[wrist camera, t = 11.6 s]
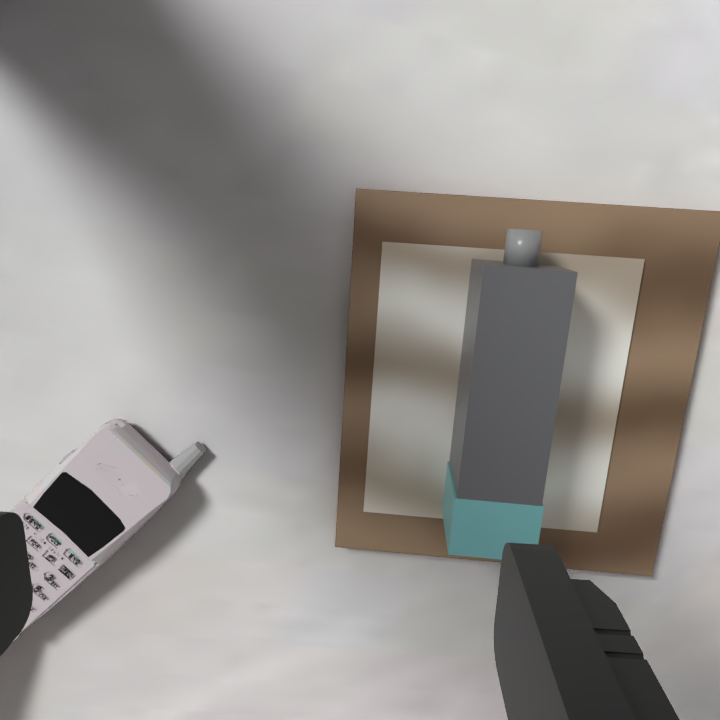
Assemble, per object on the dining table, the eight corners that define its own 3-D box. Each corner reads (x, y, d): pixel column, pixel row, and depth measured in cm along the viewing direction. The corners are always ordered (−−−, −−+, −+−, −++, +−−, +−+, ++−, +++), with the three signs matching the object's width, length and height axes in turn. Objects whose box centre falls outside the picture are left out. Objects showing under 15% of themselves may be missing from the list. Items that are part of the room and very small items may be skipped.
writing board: (357, 189, 30) (355, 188, 29) (715, 211, 30) (728, 211, 28) (336, 537, 35) (334, 548, 34) (644, 566, 34) (653, 578, 33)
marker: (473, 226, 29) (485, 227, 25) (558, 232, 29) (586, 234, 25) (442, 511, 33) (448, 554, 29) (517, 518, 33) (535, 563, 29)
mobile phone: (-188, 695, 33) (91, 417, 28) (-103, 624, 39) (143, 382, 34) (-104, 761, 34) (183, 503, 29) (-32, 682, 40) (218, 454, 35)
